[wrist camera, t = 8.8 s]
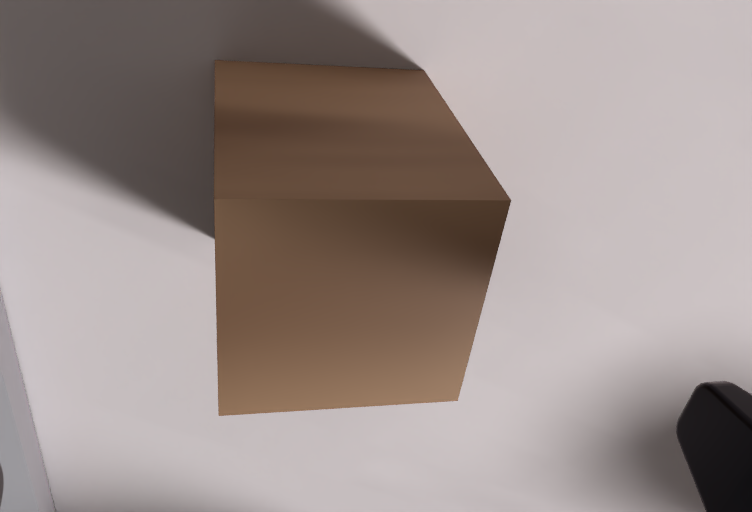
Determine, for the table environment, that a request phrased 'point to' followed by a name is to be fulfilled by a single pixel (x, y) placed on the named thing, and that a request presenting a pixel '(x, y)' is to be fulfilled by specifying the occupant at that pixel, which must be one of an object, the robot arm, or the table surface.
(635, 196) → the table surface
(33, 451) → the jig
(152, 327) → the table surface
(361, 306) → the brown wooden cube
